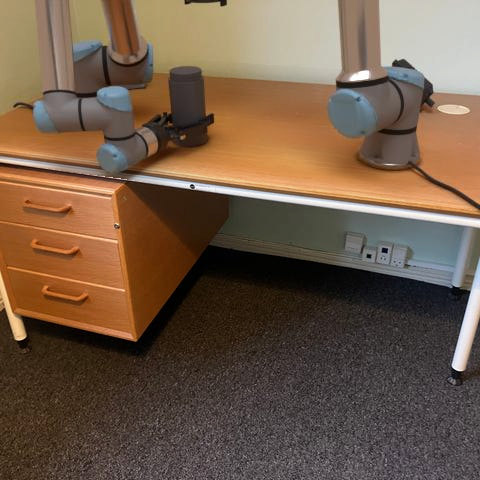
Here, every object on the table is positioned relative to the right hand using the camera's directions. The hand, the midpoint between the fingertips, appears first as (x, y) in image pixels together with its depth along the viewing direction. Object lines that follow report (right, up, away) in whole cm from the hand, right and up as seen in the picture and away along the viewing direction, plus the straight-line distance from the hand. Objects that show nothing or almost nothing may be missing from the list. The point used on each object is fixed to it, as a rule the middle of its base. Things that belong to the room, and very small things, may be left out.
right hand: (205, 4), depth 149 cm
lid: (0, +3, -2) cm, 3 cm away
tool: (+63, -23, +25) cm, 71 cm away
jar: (-5, -37, +4) cm, 38 cm away
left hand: (-2, -30, +4) cm, 31 cm away
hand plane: (-40, -10, +49) cm, 64 cm away
